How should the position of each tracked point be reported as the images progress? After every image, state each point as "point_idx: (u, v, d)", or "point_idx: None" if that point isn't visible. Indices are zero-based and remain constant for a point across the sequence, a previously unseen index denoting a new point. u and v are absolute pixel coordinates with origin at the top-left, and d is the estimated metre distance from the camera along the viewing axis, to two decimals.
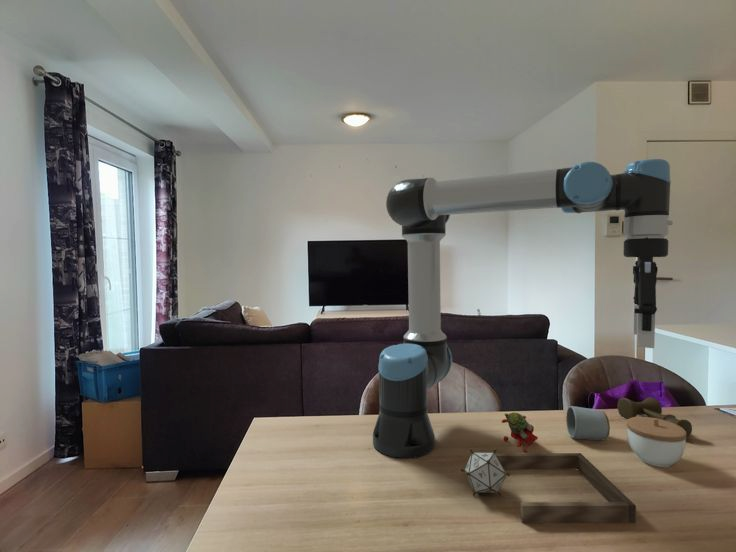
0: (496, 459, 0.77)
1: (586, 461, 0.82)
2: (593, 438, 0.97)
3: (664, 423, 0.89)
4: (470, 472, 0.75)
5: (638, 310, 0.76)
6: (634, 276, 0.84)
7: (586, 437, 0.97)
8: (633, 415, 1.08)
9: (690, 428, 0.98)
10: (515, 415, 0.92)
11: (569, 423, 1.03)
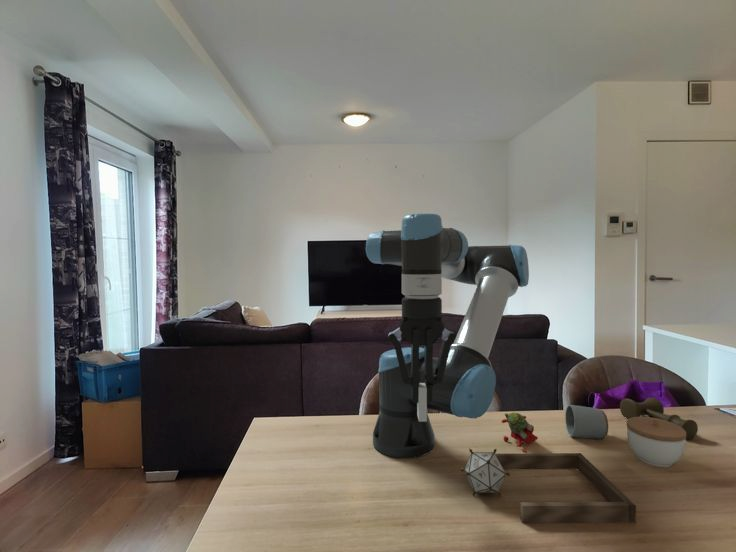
0: (496, 459, 0.77)
1: (586, 461, 0.82)
2: (592, 436, 0.98)
3: (663, 423, 0.89)
4: (470, 472, 0.75)
5: None
6: None
7: (585, 435, 0.98)
8: (637, 416, 1.07)
9: (696, 428, 0.98)
10: (515, 415, 0.92)
11: (568, 422, 1.04)
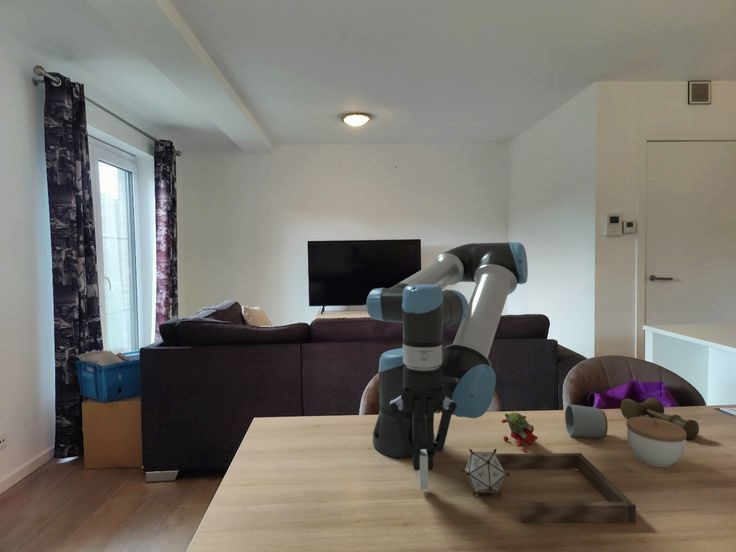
0: (496, 459, 0.77)
1: (586, 461, 0.82)
2: (591, 436, 0.98)
3: (664, 423, 0.89)
4: (470, 472, 0.75)
5: None
6: None
7: (584, 435, 0.98)
8: (638, 416, 1.07)
9: (697, 428, 0.98)
10: (515, 415, 0.92)
11: (568, 421, 1.04)
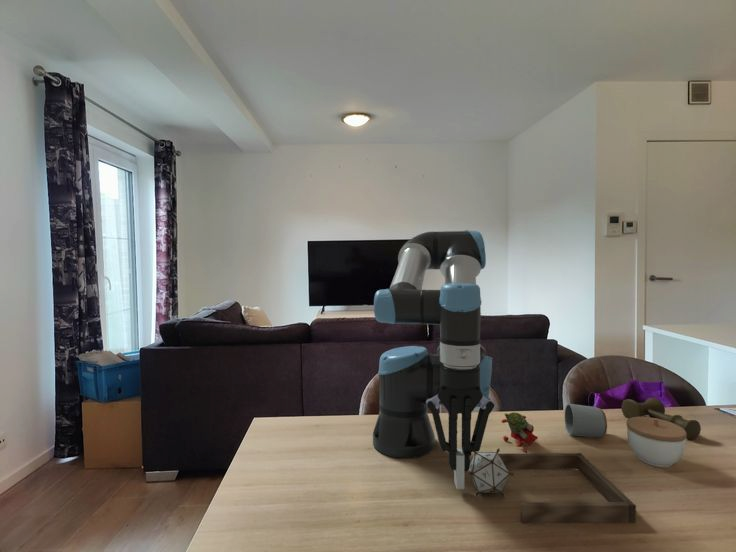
0: (499, 459, 0.77)
1: (586, 461, 0.82)
2: (591, 435, 0.98)
3: (664, 423, 0.89)
4: (474, 472, 0.75)
5: None
6: None
7: (584, 434, 0.98)
8: None
9: (699, 428, 0.98)
10: (515, 415, 0.92)
11: (567, 420, 1.05)
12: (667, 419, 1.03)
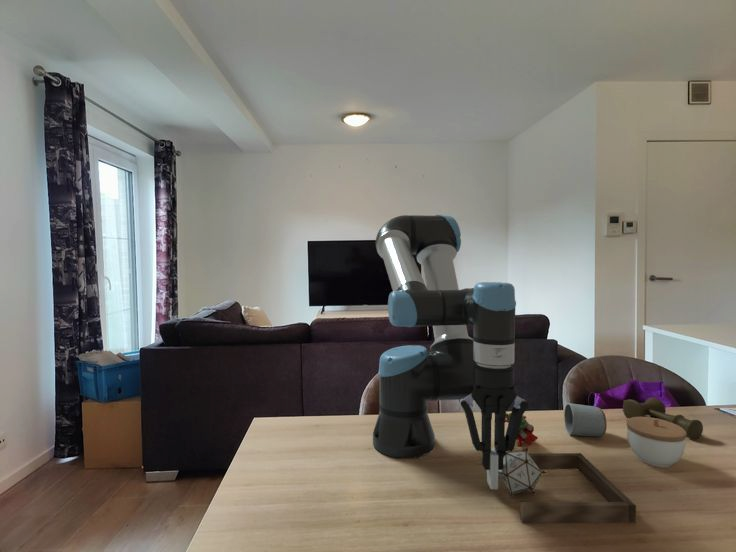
0: (530, 458, 0.77)
1: (586, 461, 0.82)
2: (590, 434, 0.99)
3: (663, 423, 0.89)
4: (508, 473, 0.74)
5: None
6: None
7: (583, 433, 0.99)
8: None
9: (701, 428, 0.98)
10: None
11: (567, 420, 1.05)
12: (669, 419, 1.03)
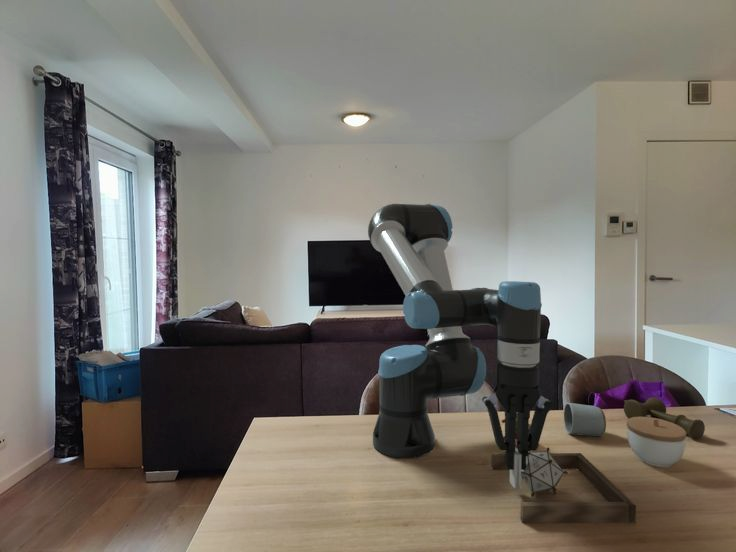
0: (552, 458, 0.77)
1: (586, 461, 0.82)
2: (590, 434, 0.99)
3: (664, 423, 0.89)
4: (532, 473, 0.74)
5: None
6: None
7: (583, 433, 0.99)
8: None
9: (703, 428, 0.98)
10: None
11: (566, 419, 1.05)
12: (671, 419, 1.03)
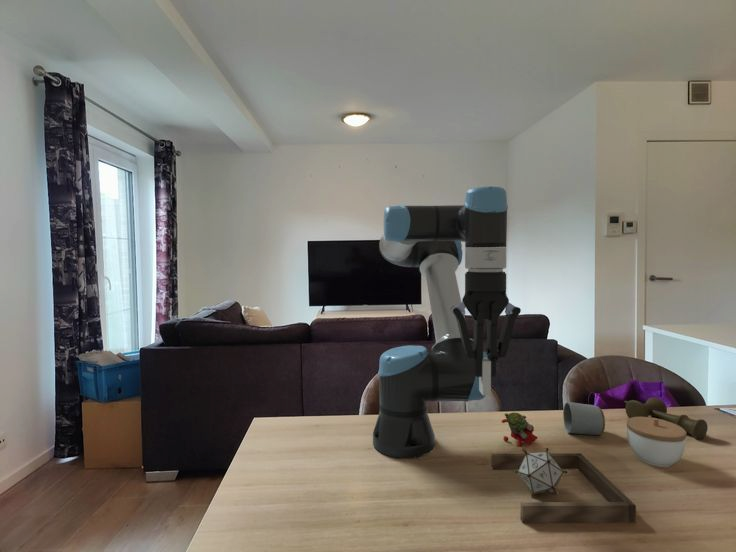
0: (551, 458, 0.77)
1: (586, 461, 0.82)
2: (589, 433, 1.00)
3: (664, 423, 0.89)
4: (530, 473, 0.74)
5: None
6: None
7: (582, 432, 1.00)
8: None
9: (706, 427, 0.98)
10: (515, 415, 0.92)
11: (566, 418, 1.06)
12: (674, 419, 1.03)
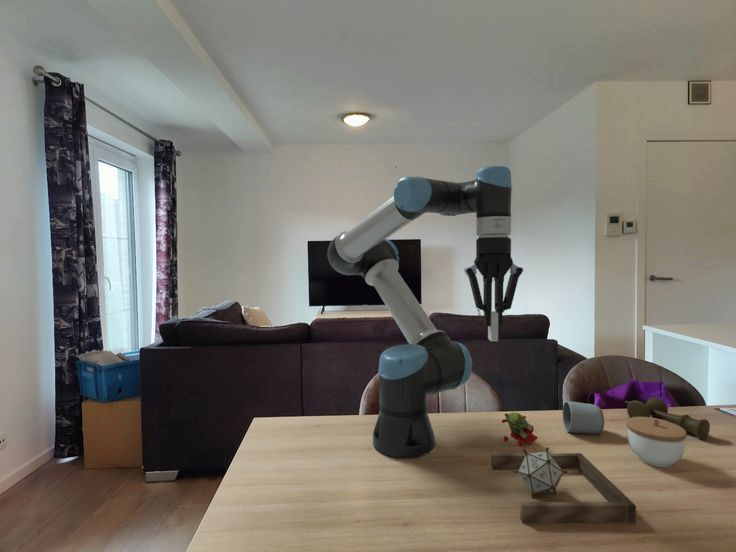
0: (551, 458, 0.77)
1: (586, 461, 0.82)
2: (588, 432, 1.00)
3: (664, 423, 0.89)
4: (530, 473, 0.74)
5: None
6: None
7: (581, 431, 1.00)
8: None
9: (709, 427, 0.99)
10: (515, 415, 0.92)
11: (565, 417, 1.07)
12: (676, 419, 1.03)
